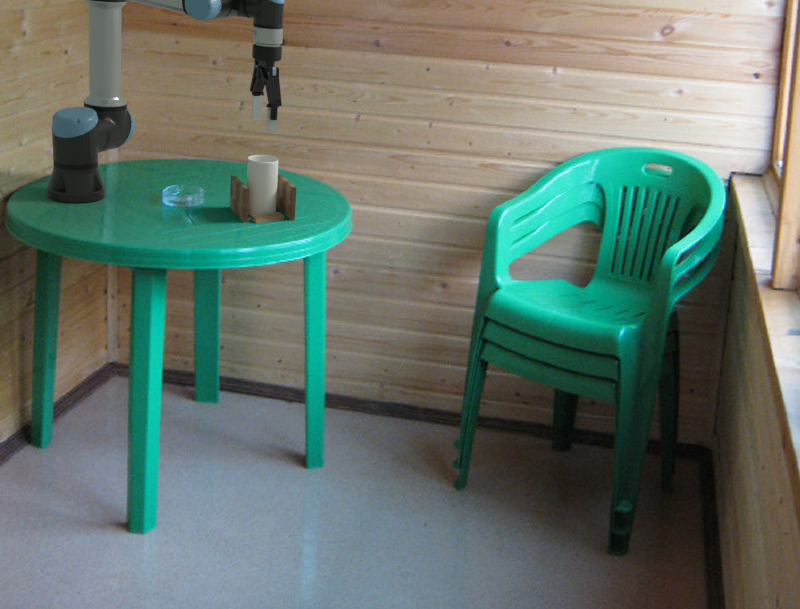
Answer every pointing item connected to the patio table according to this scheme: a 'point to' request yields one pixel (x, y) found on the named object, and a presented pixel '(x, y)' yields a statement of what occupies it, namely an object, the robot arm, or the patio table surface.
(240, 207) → the rack
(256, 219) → the offcut slab upper
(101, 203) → the patio table surface
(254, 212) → the cup
